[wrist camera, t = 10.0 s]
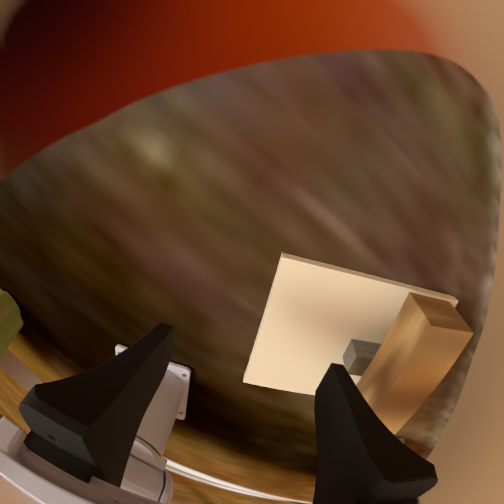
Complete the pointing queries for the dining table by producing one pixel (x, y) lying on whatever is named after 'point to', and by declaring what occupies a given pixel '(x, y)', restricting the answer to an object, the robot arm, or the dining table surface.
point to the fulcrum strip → (359, 356)
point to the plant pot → (8, 320)
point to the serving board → (321, 321)
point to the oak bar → (413, 358)
